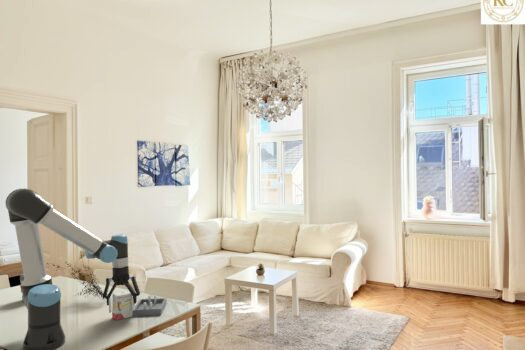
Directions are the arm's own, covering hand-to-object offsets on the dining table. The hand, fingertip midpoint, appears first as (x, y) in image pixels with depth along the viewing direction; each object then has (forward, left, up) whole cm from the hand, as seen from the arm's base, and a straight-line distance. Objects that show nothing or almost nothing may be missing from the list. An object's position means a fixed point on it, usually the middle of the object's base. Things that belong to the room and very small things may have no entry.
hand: (122, 310), depth 191 cm
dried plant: (+30, +31, -3) cm, 43 cm away
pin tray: (+10, -12, -3) cm, 16 cm away
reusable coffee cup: (+36, +59, -3) cm, 69 cm away
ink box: (0, 0, -3) cm, 3 cm away
